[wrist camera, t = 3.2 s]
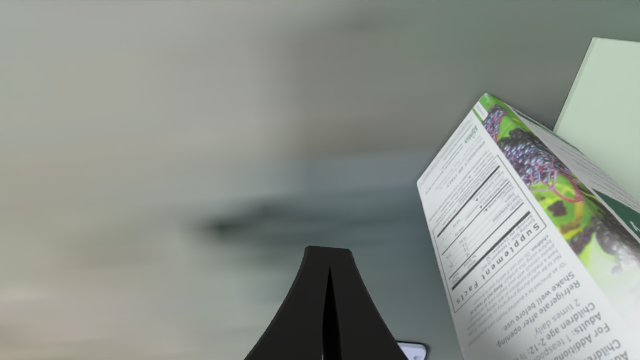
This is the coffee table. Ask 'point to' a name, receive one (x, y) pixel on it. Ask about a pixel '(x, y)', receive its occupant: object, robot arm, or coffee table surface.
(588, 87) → the mat
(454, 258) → the syrup box
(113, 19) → the coffee table surface
